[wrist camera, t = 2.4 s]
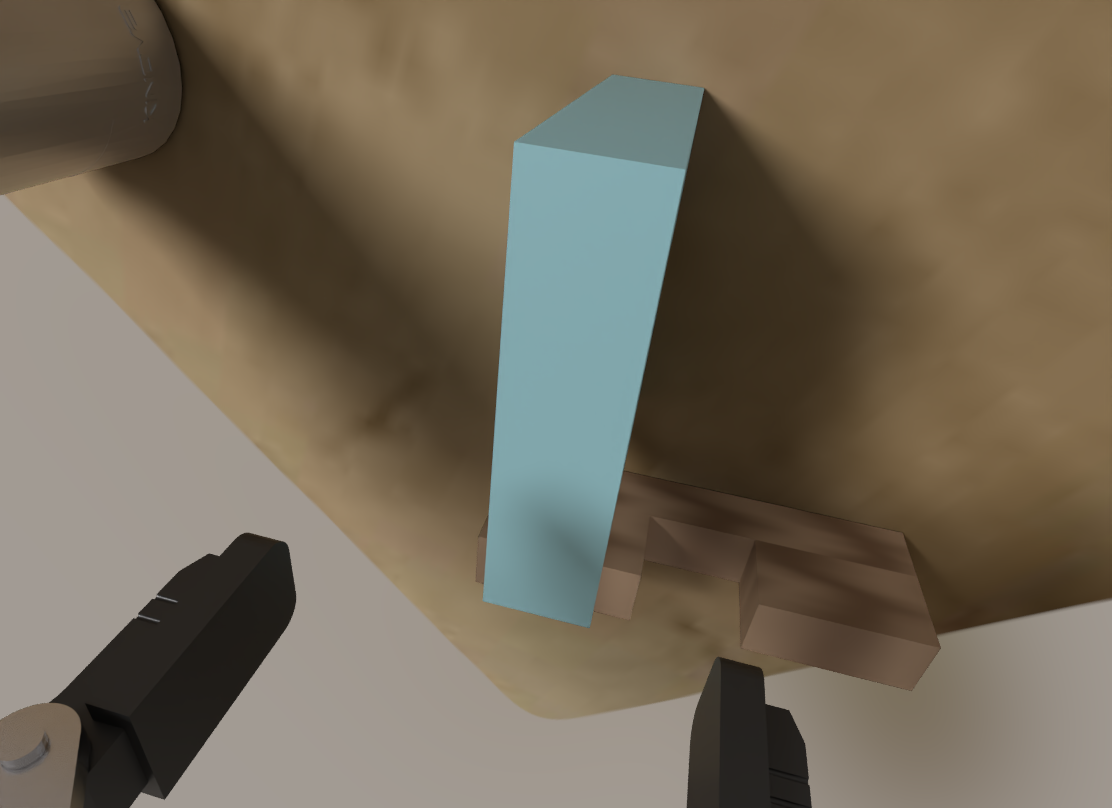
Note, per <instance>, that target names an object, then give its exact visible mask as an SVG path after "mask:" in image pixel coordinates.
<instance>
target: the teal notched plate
mask: <svg viewBox="0 0 1112 808" xmlns="http://www.w3.org/2000/svg"><path fill="white" fill-rule="evenodd" d="M703 92H704V88H701V87H694V86H687V85H680V84H674V83H667V82H660V81H653V80H646V79H639V78H632V77H626V76H619V75H611V76H610V77H608V78H607V79H606V80H604V81H603V82H601V83H600V84H598V85H597V86H595V87H594V88H592V89H591V90H589V91H588V92H587V93H585V94H584V95H582V96H581V97H579V98H578V99H576V100H575V101H573V102H572V103H570V104H569V105H567V106H566V107H565V108H563V109H562V110H560V111H559V112H557V113H556V114H554V115H553V116H551V117H550V118H548V119H547V120H545V121H544V122H543V123H541V124H540V125H538V126H537V127H535V128H534V129H532V130H531V131H529V132H528V133H526V134H525V135H524V136H522V137H521V138H519V139H518V140H516V141H515V142H514V153H513V167H512V182H511V196H510V211H509V226H508V240H507V255H506V270H505V284H504V299H503V314H502V328H501V343H500V357H499V372H498V387H497V401H496V416H495V431H494V445H493V460H492V474H491V489H490V504H489V518H488V533H487V548H486V562H485V577H484V591H483V601H485V602H488V603H492V604H496V605H500V606H504V607H508V608H512V609H516V610H520V611H524V612H528V613H532V614H536V615H540V616H544V617H547V618H551V619H555V620H559V621H563V622H567V623H571V624H575V625H579V626H583V627H587V628H590V624H591V619H592V615H593V610H594V605H595V601H596V596H597V591H598V587H599V582H600V577H601V573H602V568H603V563H604V559H605V554H606V550H607V545H608V540H609V536H610V531H611V526H612V522H613V517H614V512H615V508H616V503H617V498H618V494H619V489H620V484H621V480H622V475H623V470H624V466H625V461H626V456H627V452H628V447H629V442H630V438H631V433H632V428H633V424H634V419H635V414H636V410H637V405H638V401H639V396H640V391H641V386H642V382H643V377H644V372H645V367H646V363H647V358H648V353H649V348H650V344H651V339H652V334H653V329H654V325H655V320H656V315H657V310H658V305H659V300H660V295H661V291H662V286H663V281H664V276H665V272H666V267H667V262H668V257H669V253H670V248H671V243H672V239H673V234H674V229H675V225H676V220H677V216H678V211H679V206H680V201H681V197H682V192H683V187H684V183H685V178H686V173H687V168H688V164H689V159H690V154H691V149H692V145H693V140H694V135H695V130H696V126H697V121H698V116H699V111H700V107H701V102H702V97H703Z"/></svg>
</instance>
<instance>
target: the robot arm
mask: <svg viewBox="0 0 1112 808" xmlns="http://www.w3.org/2000/svg"><path fill="white" fill-rule="evenodd" d="M181 97H182V82H181V72H180V64H179V60H178V56H177V52H176V49H175V45H174V41H173V38H172V36H171V33H170V31H169V29H168V26H167V24H166V22H165V19H164V17H163V15H162V12H161V11H160V9H159V7H158V6H157V4H156V2H155V1H154V0H0V195H3V194H7V193H11V192H14V191H18V190H22V189H25V188H29V187H33V186H36V185H40V184H44V183H48V182H51V181H55V180H59V179H62V178H66V177H71V176H74V175H78V174H82V173H85V172H89V171H93V170H96V169H100V168H104V167H107V166H111V165H115V164H118V163H122V162H126V161H129V160H133V159H137V158H140V157H142V156H145V155H148V154H150V153H153V152H154V151H155V150H157V149H158V148H159V147H160V146H162V145H163V144H164V143H165V142H166V141H167V139H168V138H169V136H170V135H171V133H172V131H173V130H174V128H175V125H176V122H177V119H178V116H179V113H180V109H181ZM295 604H296V591H295V585H294V578H293V572H292V566H291V559H290V553H289V548H288V545H287V544H286V543H285V542H282V541H278V540H275V539H271V538H267V537H263V536H259V535H255V534H251V533H244V534H241V535H240V536H239V537H237V538H236V539H235V540H234V541H233V542H232V543H231V544H230V545H229V547H228V548H227V549H226V550H225V551H224V552H223V553H222V554H221V555H220V556H216V555H213V554H207V555H206V556H204V557H202V558H201V559H199V560H197V561H196V562H194V563H192V564H190V565H189V566H187V567H186V568H184V569H182V570H181V571H179V572H178V573H177V574H176V575H175V576H174V577H173V578H172V579H171V580H170V581H169V582H168V583H167V584H166V585H165V586H164V587H163V588H162V590H160V592H159V593H158V594H157V597H156V598H155V599H152V600H151V601H150V602H149V603H148V604H147V605H146V606H145V607H144V608H143V609H142V610H141V611H140V612H139V613H138V617H137V618H136V619H134V618H133V619H132V621H131V622H129V624H128V625H127V626H126V627H125V628H124V629H123V630H122V631H121V632H120V633H119V634H118V635H117V636H116V637H115V638H114V639H113V640H112V641H111V642H110V643H109V644H108V645H107V646H106V647H105V648H104V649H103V651H101V652H100V654H98V656H97V657H96V658H95V659H94V660H93V661H92V662H91V663H90V664H89V665H88V666H87V667H86V668H85V669H84V670H83V671H82V672H81V673H80V674H79V675H78V676H77V677H76V678H75V679H74V680H73V681H72V682H71V683H70V684H69V686H68V687H67V688H66V689H64V690H63V691H62V692H61V693H60V694H59V695H58V696H57V697H56V698H54V699H53V700H52V701H51V702H49V703H42V704H37V705H32V706H29V707H26V708H23V709H20V710H18V711H16V712H13V713H11V714H10V715H8V716H6V717H4V718H2V719H1V720H0V808H129V807H130V806H131V805H132V804H133V802H134V801H135V799H136V798H137V797H138V795H139V794H140V793H141V792H143V793H146V794H149V795H152V796H155V797H158V798H161V799H165V798H166V797H167V796H168V794H169V793H170V791H171V790H172V789H173V787H174V786H175V784H176V783H177V782H178V780H179V779H180V777H181V776H182V775H183V773H184V772H185V770H186V769H187V767H188V766H189V765H190V763H191V762H192V760H193V759H194V758H195V756H196V755H197V753H198V752H199V751H200V749H201V748H202V746H203V745H204V744H205V742H206V740H207V739H208V738H209V736H210V735H211V734H212V732H213V731H214V729H215V728H216V727H217V725H218V724H219V722H220V721H221V720H222V718H223V717H224V715H225V714H226V712H227V711H228V710H229V708H230V707H231V705H232V704H233V703H234V701H235V700H236V698H237V697H238V696H239V694H240V693H241V691H242V690H243V688H244V687H245V686H246V684H247V683H248V681H249V680H250V678H251V677H252V676H253V674H254V673H255V671H256V670H257V669H258V667H259V666H260V665H261V663H262V662H263V660H264V659H265V657H266V656H267V655H268V653H269V652H270V650H271V649H272V648H273V646H274V645H275V643H276V642H277V640H278V639H279V638H280V636H281V635H282V633H283V632H284V631H285V629H286V628H287V626H288V624H289V622H290V620H291V618H292V615H293V612H294V609H295ZM808 779H809V776H808V767H807V757H806V748H805V743H804V740H803V738H802V736H801V734H800V732H799V730H798V728H797V726H796V724H795V722H794V719H793V717H792V715H791V713H790V711H789V710H786V709H782V708H778V707H774V706H771V705H767V704H765V688H764V675H763V671H762V669H761V668H759V667H756V666H752V665H748V664H744V663H740V662H736V661H733V660H729V659H725V658H721V657H717V658H716V659H715V661H714V664H713V666H712V669H711V671H710V674H709V676H708V679H707V682H706V684H705V687H704V689H703V692H702V694H701V697H700V699H699V702H698V705H697V708H696V711H695V715H694V720H693V725H692V731H691V740H690V758H689V775H688V794H687V808H812V806H811V796H810V787H809V785H808Z"/></svg>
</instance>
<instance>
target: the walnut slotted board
mask: <svg viewBox="0 0 1112 808" xmlns="http://www.w3.org/2000/svg"><path fill="white" fill-rule="evenodd" d="M488 518H489V514H488V516H487V519H486V521H485V523H484V525H483V527H482V530H481V532H480V534H479V536H478V551H477V568H476V582H478V583H482V584H484V577H485V562H486V548H487V533H488ZM643 560H647V561H651V562H655V563H659V564H663V565H668V566H672V567H676V568H680V569H684V570H689V571H693V572H697V573H701V574H705V575H710V576H714V577H718V578H722V579H726V580H731V581H735V582H739V601H740V642H741V648H742V649H746V650H750V651H754V652H758V653H762V654H766V655H770V656H774V657H778V658H782V659H786V660H790V661H794V662H798V663H802V664H806V665H810V666H813V667H818V668H821V669H826V670H829V671H833V672H837V673H842V674H845V675H849V676H853V677H857V678H861V679H865V680H869V681H873V682H877V683H881V684H885V685H889V686H893V687H897V688H901V689H906V690H909V691H912V690H913V688H914V687H915V685H916V684H917V682H918V681H919V679H920V678H921V677H922V675H923V673H924V672H925V671H926V669H927V668H928V666H929V664H930V663H931V662H932V660H933V659H934V658H935V656H936V655H937V653H938V652H939V650H940V649H941V647H940V644H939V641H938V638H937V635H936V632H935V629H934V626H933V623H932V620H931V617H930V614H929V611H928V608H927V605H926V602H925V599H924V596H923V593H922V590H921V587H920V584H919V581H918V578H917V575H916V572H915V569H914V566H913V563H912V560H911V557H910V554H909V551H908V548H907V545H906V542H905V539H904V536H903V533H901V532H896V531H892V530H887V529H883V528H878V527H874V526H869V525H865V524H860V523H856V522H851V521H847V520H842V519H838V518H833V517H829V516H824V515H820V514H815V513H811V512H806V511H802V510H797V509H793V508H788V507H784V506H779V505H775V504H770V503H766V502H761V501H757V500H752V499H748V498H743V497H739V496H734V495H730V494H725V493H721V492H716V491H712V490H707V489H703V488H698V487H694V486H689V485H685V484H680V483H676V482H671V481H667V480H662V479H658V478H653V477H649V476H644V475H640V474H635V473H631V472H626V471H623V475H622V480H621V484H620V489H619V494H618V498H617V503H616V508H615V512H614V517H613V522H612V526H611V531H610V536H609V540H608V545H607V550H606V554H605V559H604V563H603V568H602V573H601V577H600V582H599V587H598V591H597V596H596V601H595V605H594V610H593V611H594V612H598V613H602V614H606V615H610V616H614V617H618V618H622V619H626V620H630V617H631V613H632V610H633V606H634V602H635V598H636V594H637V590H638V587H639V583H640V579H641V574H642V567H643Z"/></svg>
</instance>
